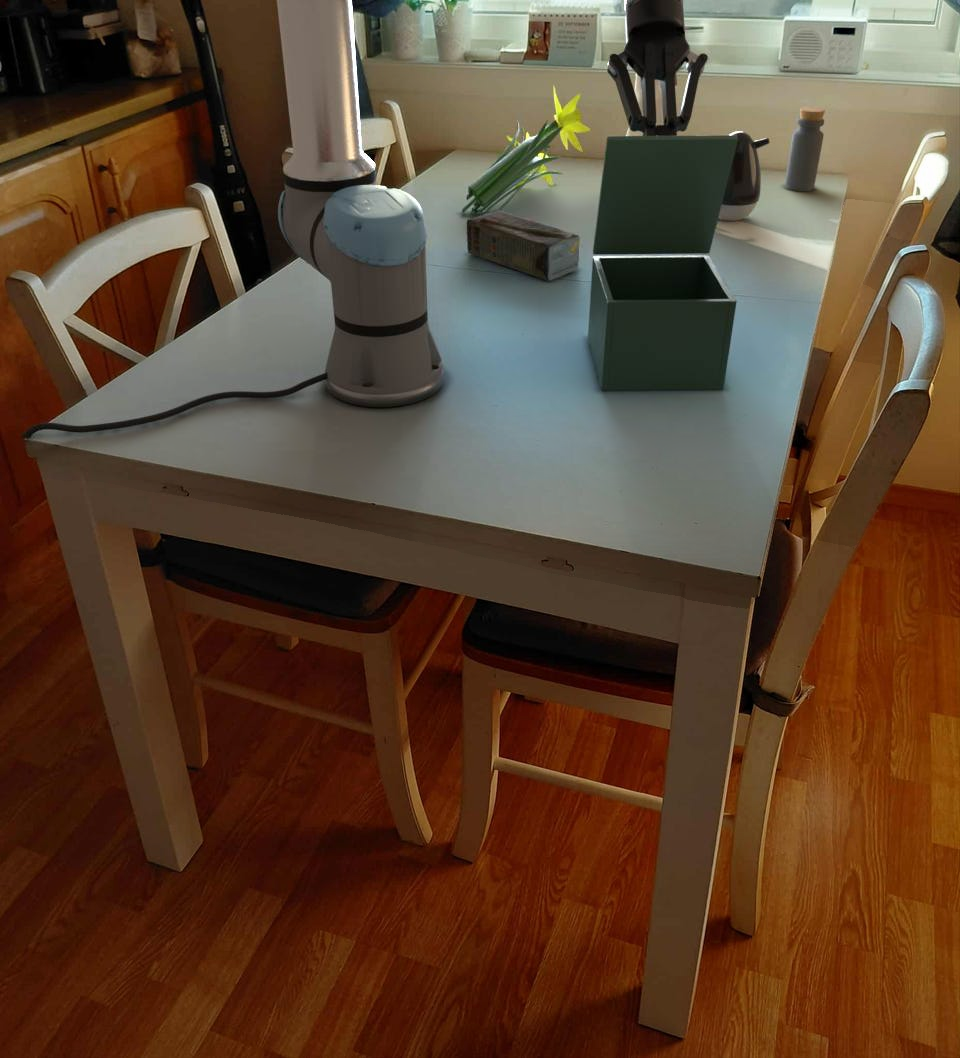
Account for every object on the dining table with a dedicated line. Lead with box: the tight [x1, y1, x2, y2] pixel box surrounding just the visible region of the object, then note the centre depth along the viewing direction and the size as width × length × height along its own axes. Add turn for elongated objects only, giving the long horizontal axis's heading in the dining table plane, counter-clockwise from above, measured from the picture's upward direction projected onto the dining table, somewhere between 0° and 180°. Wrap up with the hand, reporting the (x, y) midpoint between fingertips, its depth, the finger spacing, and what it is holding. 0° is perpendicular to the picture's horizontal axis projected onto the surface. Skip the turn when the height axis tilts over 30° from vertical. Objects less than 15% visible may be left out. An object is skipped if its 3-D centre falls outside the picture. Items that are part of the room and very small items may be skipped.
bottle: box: [784, 106, 826, 192], centre depth 196 cm, size 6×6×15 cm
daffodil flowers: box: [461, 84, 591, 216], centre depth 192 cm, size 17×15×35 cm
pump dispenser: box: [718, 131, 770, 222], centre depth 180 cm, size 10×10×15 cm
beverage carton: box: [466, 209, 581, 282], centre depth 162 cm, size 8×19×7 cm, turn 45°
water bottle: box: [625, 72, 678, 136], centre depth 196 cm, size 10×9×28 cm
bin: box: [587, 254, 738, 392], centre depth 128 cm, size 17×16×12 cm
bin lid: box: [592, 134, 738, 256], centre depth 124 cm, size 17×16×1 cm
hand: (663, 178), depth 123 cm, fingers closed
